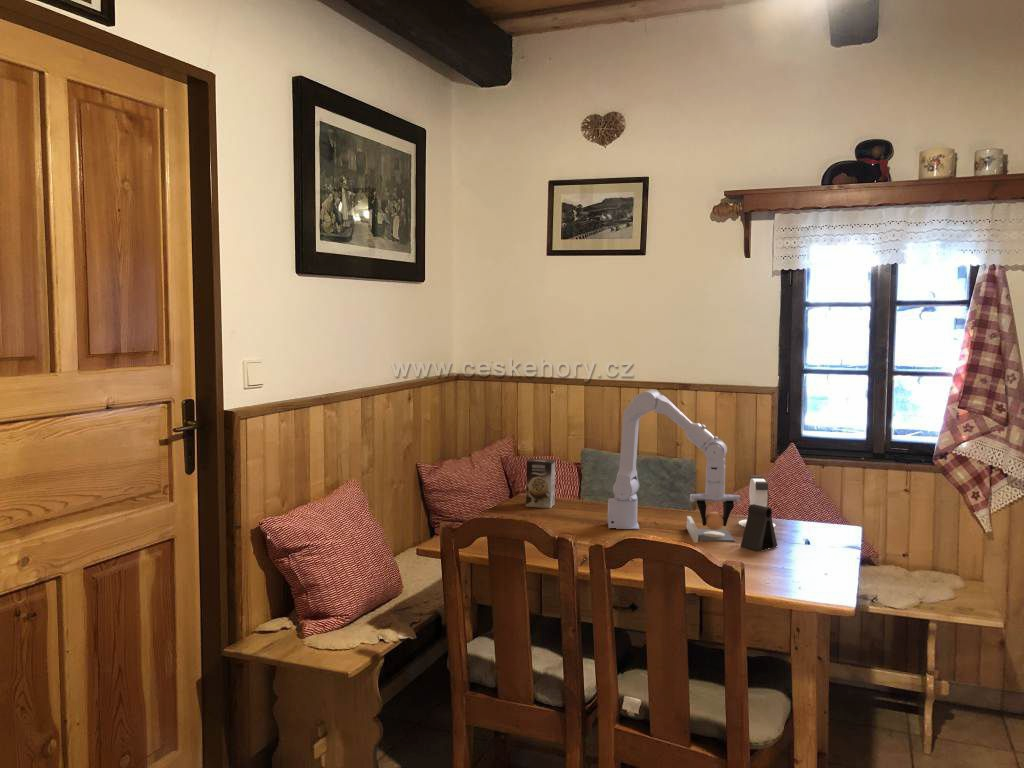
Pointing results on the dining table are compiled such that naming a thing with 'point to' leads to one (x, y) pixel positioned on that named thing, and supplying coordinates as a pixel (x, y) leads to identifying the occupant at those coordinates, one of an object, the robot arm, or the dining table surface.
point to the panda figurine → (757, 494)
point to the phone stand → (759, 529)
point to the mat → (714, 535)
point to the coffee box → (540, 483)
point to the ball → (714, 520)
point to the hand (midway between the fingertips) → (714, 525)
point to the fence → (692, 529)
